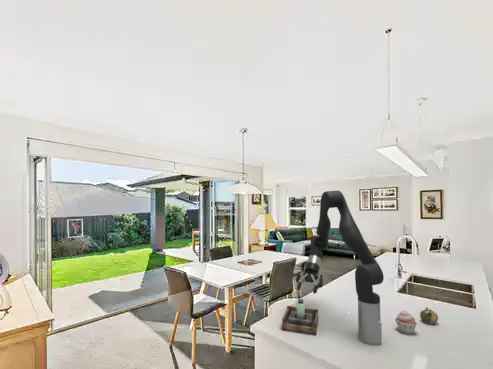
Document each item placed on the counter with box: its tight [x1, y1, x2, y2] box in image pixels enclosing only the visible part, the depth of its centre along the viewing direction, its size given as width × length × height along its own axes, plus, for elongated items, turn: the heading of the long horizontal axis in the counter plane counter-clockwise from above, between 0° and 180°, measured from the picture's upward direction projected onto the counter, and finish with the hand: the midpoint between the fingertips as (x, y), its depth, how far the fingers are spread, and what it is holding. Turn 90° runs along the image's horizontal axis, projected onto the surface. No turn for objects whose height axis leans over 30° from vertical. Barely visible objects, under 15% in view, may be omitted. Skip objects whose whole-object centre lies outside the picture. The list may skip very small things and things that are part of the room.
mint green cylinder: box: [296, 298, 306, 319], centre depth 135 cm, size 4×4×12 cm
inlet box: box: [281, 305, 319, 336], centre depth 135 cm, size 16×16×6 cm
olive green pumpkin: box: [419, 307, 439, 325], centre depth 141 cm, size 8×8×8 cm
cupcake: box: [394, 309, 418, 335], centre depth 131 cm, size 9×9×10 cm
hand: (306, 291), depth 142 cm, fingers open, 8 cm apart
